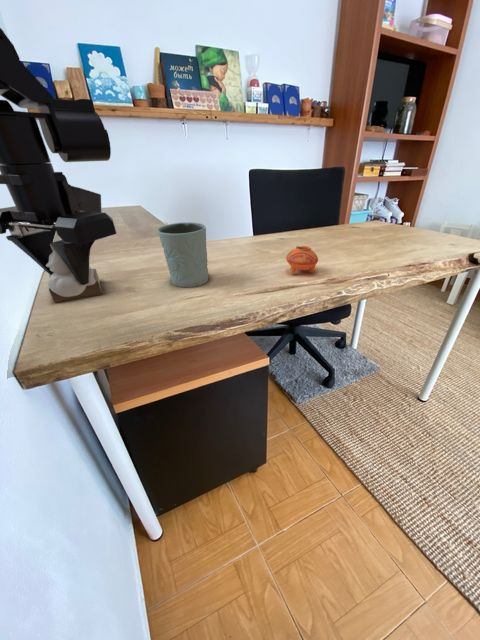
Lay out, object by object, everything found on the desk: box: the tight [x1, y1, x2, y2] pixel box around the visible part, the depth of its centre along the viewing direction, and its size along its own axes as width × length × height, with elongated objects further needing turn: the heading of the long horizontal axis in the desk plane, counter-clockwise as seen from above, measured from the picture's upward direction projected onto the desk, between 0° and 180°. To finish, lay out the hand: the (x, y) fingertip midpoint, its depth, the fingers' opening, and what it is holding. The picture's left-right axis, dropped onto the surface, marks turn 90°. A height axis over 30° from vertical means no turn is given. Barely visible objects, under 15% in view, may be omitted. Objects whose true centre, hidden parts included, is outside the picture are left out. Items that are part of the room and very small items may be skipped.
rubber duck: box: [46, 244, 96, 297], centre depth 45 cm, size 5×7×8 cm
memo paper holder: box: [48, 264, 103, 304], centre depth 64 cm, size 9×9×6 cm
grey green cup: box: [157, 221, 209, 288], centre depth 66 cm, size 10×10×12 cm
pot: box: [285, 245, 319, 275], centre depth 72 cm, size 8×8×7 cm
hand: (72, 281), depth 46 cm, fingers closed on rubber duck, 5 cm apart
